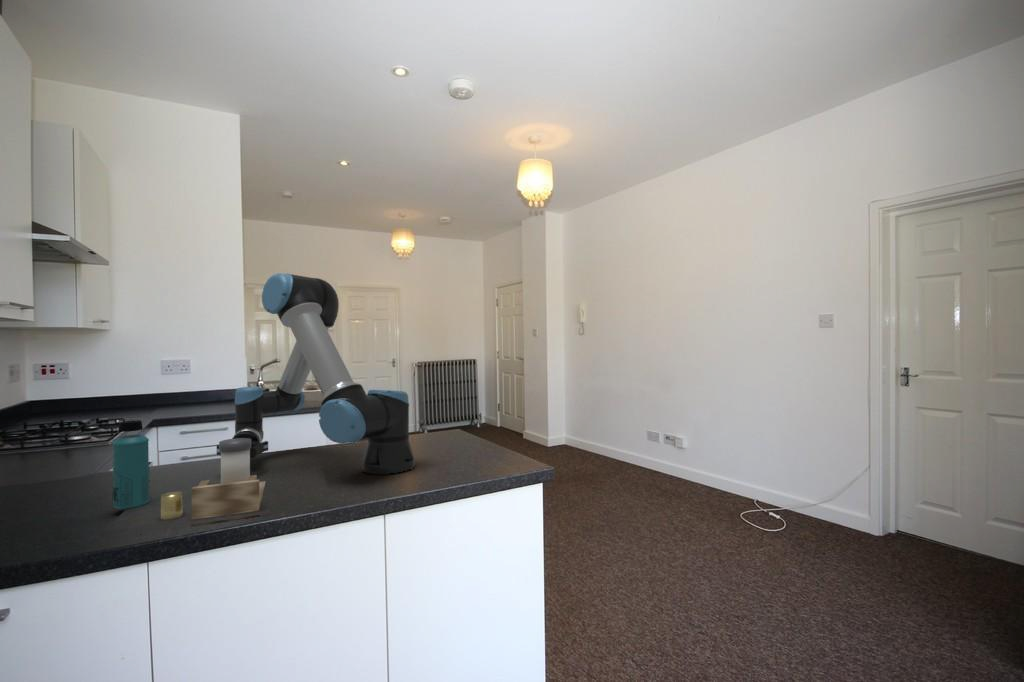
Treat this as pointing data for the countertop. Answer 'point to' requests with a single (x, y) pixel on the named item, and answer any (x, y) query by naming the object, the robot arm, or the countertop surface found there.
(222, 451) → the grey-lidded white jar
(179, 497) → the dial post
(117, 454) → the beverage bottle
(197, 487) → the mount
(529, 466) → the countertop surface
